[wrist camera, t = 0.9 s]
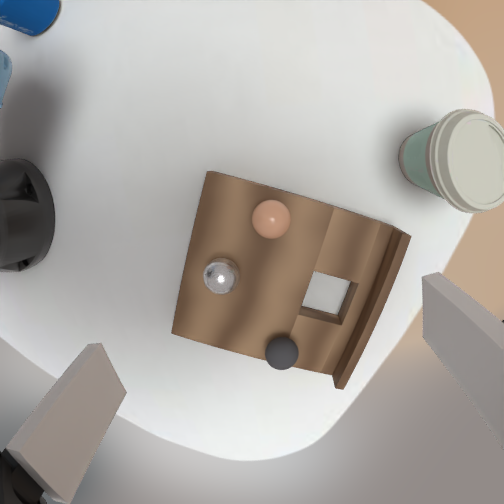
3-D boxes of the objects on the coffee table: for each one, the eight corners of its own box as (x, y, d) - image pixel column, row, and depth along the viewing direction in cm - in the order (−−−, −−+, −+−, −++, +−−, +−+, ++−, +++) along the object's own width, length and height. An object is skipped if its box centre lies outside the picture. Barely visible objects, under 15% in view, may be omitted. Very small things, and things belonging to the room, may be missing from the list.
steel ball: (203, 281, 33) (195, 294, 29) (211, 249, 32) (203, 259, 28) (236, 290, 33) (232, 305, 29) (245, 259, 32) (242, 270, 28)
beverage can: (23, 41, 28) (-33, 23, 17) (34, 4, 27) (-17, -20, 15) (56, 31, 28) (-2, 5, 17) (67, -8, 26) (16, -40, 15)
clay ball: (248, 228, 31) (245, 236, 28) (258, 193, 30) (256, 197, 27) (284, 238, 31) (285, 247, 28) (294, 203, 30) (297, 208, 27)
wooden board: (177, 323, 37) (164, 344, 32) (212, 170, 32) (201, 172, 27) (336, 364, 37) (343, 389, 32) (393, 226, 32) (411, 236, 28)
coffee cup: (446, 205, 31) (511, 226, 20) (381, 189, 31) (432, 204, 20) (457, 133, 29) (523, 127, 17) (391, 112, 29) (446, 90, 18)
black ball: (261, 353, 35) (260, 372, 31) (270, 327, 34) (270, 344, 30) (291, 361, 35) (293, 379, 31) (302, 335, 34) (304, 352, 30)
